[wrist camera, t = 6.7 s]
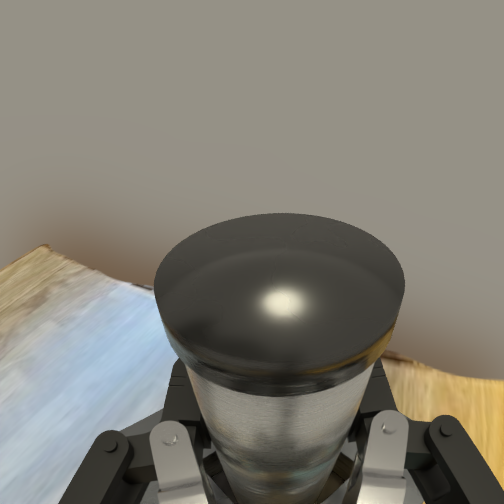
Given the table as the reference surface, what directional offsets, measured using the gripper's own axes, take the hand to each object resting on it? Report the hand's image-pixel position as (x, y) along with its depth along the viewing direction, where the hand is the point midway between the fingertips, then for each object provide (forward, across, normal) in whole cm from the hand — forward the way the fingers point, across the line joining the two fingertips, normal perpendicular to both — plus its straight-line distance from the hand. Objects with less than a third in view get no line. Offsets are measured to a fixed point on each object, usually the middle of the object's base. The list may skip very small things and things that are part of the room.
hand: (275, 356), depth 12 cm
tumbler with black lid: (-3, 0, +9) cm, 9 cm away
